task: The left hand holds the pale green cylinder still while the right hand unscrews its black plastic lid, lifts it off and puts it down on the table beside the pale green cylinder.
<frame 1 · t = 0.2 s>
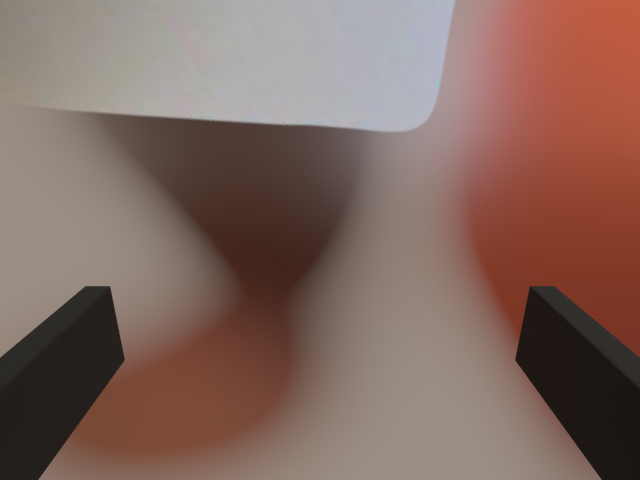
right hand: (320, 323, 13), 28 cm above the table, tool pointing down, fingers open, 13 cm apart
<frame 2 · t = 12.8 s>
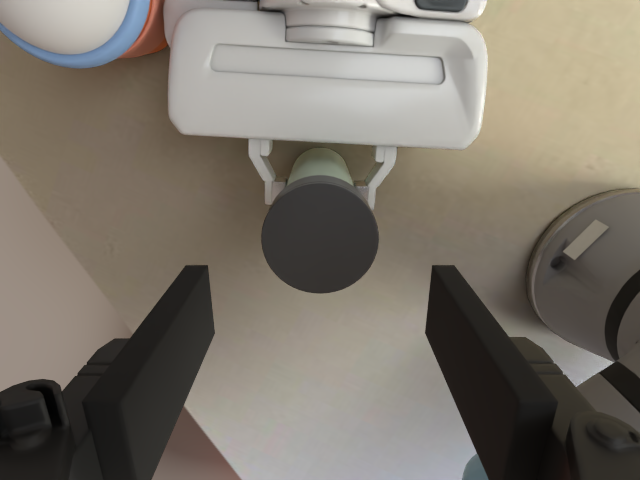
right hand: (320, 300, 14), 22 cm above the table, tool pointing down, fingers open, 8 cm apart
left hand: (319, 205, 30), fingers closed on pale green cylinder, 5 cm apart
cup with straw: (141, 9, 31), on the table
lid: (320, 238, 20), point 16 cm above the table, screwed on, not yet turned
pale green cylinder: (320, 176, 35), on the table, touching left hand
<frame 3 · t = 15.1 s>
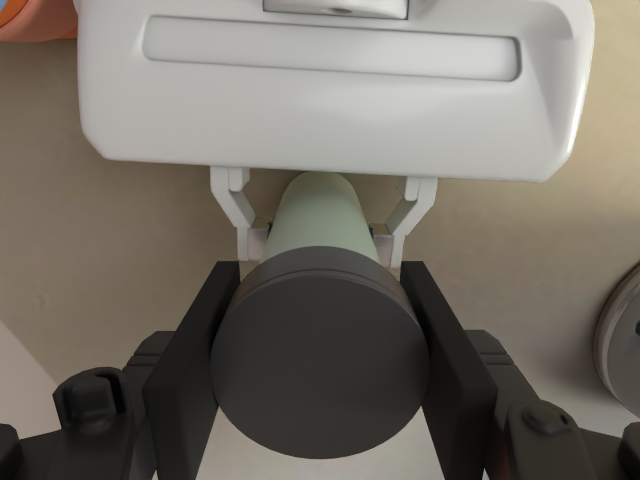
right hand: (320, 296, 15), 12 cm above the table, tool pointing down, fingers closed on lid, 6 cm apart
left hand: (319, 260, 20), fingers closed on pale green cylinder, 5 cm apart
lid: (320, 367, 11), point 16 cm above the table, screwed on, not yet turned, touching right hand
pale green cylinder: (319, 207, 26), on the table, touching left hand
when the right hand's fingers open (12 cm above the table, at t = 16.3 s): lid stays where it is, point 16 cm above the table.
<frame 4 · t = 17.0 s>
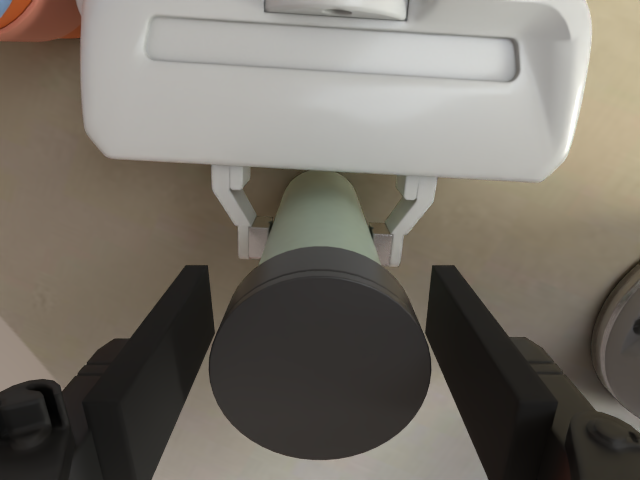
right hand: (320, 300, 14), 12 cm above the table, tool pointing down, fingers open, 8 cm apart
left hand: (319, 258, 20), fingers closed on pale green cylinder, 5 cm apart
lid: (320, 368, 11), point 16 cm above the table, turned 62° so far, risen 0.2 cm, still on its thread
pale green cylinder: (320, 207, 26), on the table, touching left hand
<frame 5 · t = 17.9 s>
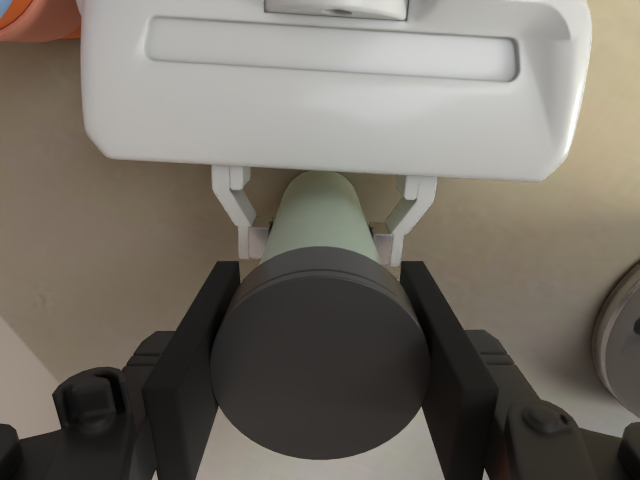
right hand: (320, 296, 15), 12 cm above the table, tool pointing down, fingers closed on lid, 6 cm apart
left hand: (320, 258, 20), fingers closed on pale green cylinder, 5 cm apart
lid: (320, 368, 11), point 16 cm above the table, turned 62° so far, risen 0.2 cm, still on its thread, touching right hand
pale green cylinder: (320, 207, 26), on the table, touching left hand
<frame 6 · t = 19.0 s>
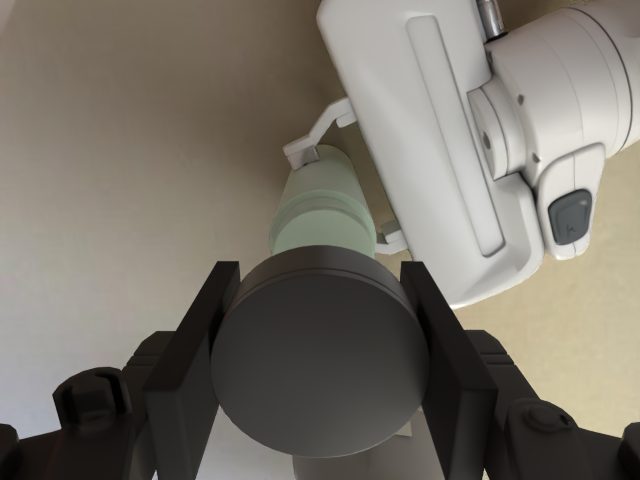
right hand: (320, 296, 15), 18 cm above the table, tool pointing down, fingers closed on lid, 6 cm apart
left hand: (310, 204, 26), fingers closed on pale green cylinder, 5 cm apart
lid: (320, 366, 11), point 22 cm above the table, off its thread, touching right hand
pale green cylinder: (322, 176, 32), on the table, touching left hand
when the right hand's fingers open (0 cm above the table, at t = 24.7 s): lid drops 2 cm, point 2 cm above the table.
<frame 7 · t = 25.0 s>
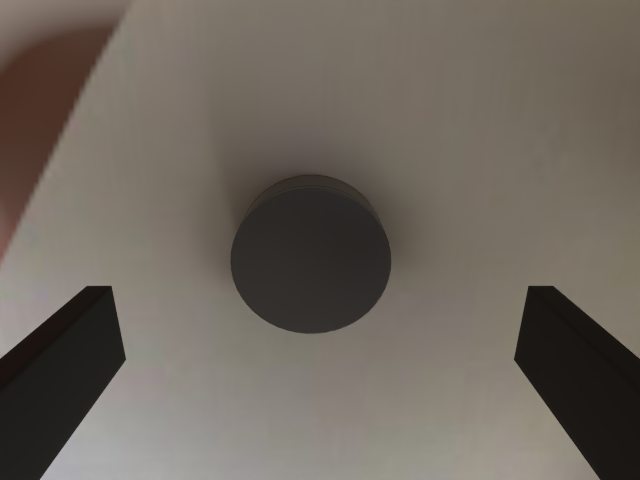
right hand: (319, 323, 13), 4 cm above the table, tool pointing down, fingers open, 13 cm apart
lid: (311, 262, 15), point 2 cm above the table, off its thread
when the left hand's fingers open (6 cm above the table, at t = 25.4 s): pale green cylinder stays where it is, on the table.
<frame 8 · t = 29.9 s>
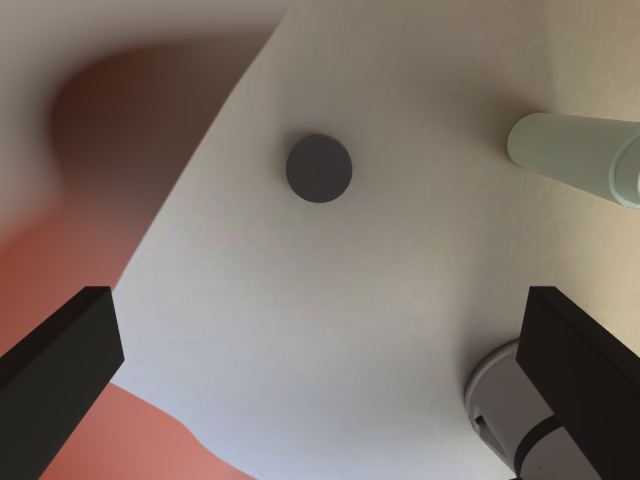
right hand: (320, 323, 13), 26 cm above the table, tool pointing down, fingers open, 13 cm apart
lid: (319, 170, 36), point 2 cm above the table, off its thread
pale green cylinder: (534, 140, 37), on the table
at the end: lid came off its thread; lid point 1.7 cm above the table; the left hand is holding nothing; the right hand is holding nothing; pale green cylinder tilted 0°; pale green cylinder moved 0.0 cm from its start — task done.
